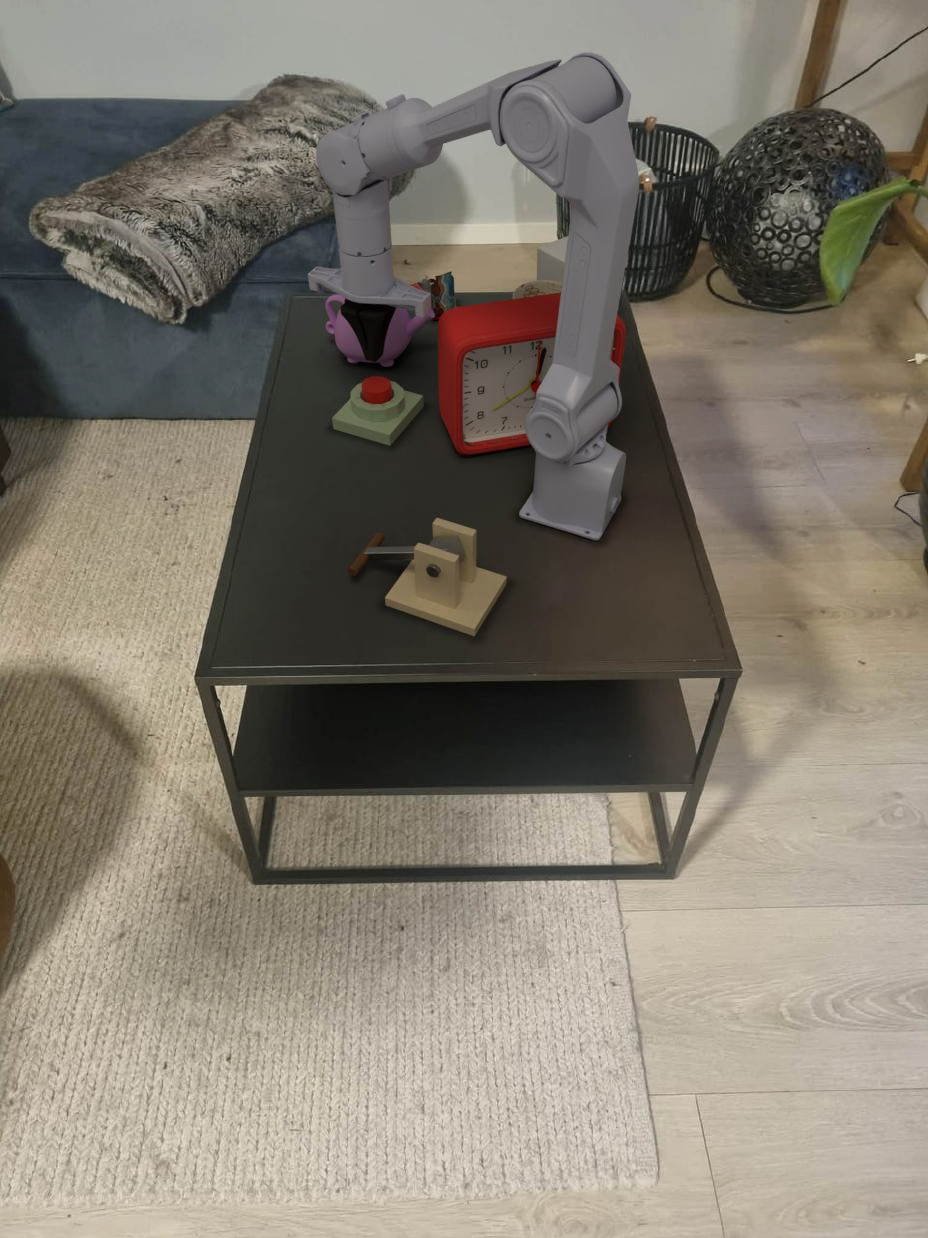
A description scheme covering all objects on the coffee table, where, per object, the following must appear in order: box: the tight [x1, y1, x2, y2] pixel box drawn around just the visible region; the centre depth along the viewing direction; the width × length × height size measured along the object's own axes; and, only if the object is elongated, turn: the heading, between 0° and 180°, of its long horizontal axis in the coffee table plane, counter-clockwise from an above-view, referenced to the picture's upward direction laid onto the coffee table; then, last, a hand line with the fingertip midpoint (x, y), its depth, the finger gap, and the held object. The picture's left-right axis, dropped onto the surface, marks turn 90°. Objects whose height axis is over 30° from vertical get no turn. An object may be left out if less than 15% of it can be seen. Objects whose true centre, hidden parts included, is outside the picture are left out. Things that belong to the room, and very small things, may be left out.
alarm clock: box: [437, 292, 627, 456], centre depth 109 cm, size 10×20×16 cm, turn 105°
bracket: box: [384, 517, 508, 637], centre depth 93 cm, size 10×8×8 cm
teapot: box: [325, 293, 435, 368], centre depth 123 cm, size 10×15×9 cm
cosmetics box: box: [536, 235, 568, 283], centre depth 129 cm, size 10×6×10 cm, turn 126°
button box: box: [331, 380, 425, 447], centre depth 115 cm, size 8×9×4 cm
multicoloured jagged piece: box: [409, 270, 458, 321], centre depth 133 cm, size 12×7×6 cm
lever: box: [347, 531, 466, 577], centre depth 94 cm, size 12×6×2 cm, turn 65°
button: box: [361, 375, 392, 404], centre depth 113 cm, size 4×4×2 cm
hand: (374, 356), depth 110 cm, fingers closed
